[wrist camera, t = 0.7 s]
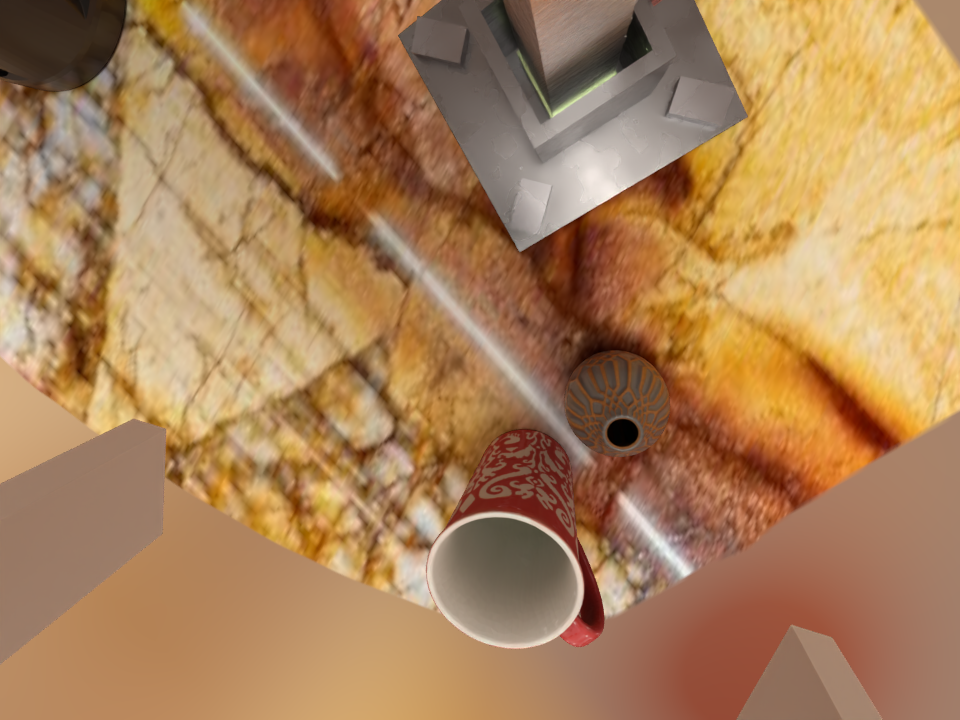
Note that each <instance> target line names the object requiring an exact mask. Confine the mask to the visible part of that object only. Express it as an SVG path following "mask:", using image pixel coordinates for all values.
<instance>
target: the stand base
mask: <svg viewBox="0 0 960 720" xmlns="http://www.w3.org/2000/svg"><path fill="white" fill-rule="evenodd" d="M398 36H399V38H400V40H401V42H402V43H403V45H404V47H405V49H406V51H407V52H408V54H409V56H410V58H411V60H412V61H413V63H414V65H415V67H416V68H417V70H418V72H419V74H420V76H421V77H422V79H423V81H424V83H425V84H426V86H427V88H428V90H429V92H430V93H431V95H432V97H433V99H434V100H435V102H436V104H437V106H438V108H439V109H440V111H441V113H442V115H443V117H444V118H445V120H446V122H447V124H448V125H449V127H450V129H451V131H452V133H453V134H454V136H455V138H456V140H457V141H458V143H459V145H460V147H461V149H462V150H463V152H464V154H465V156H466V158H467V159H468V161H469V163H470V165H471V166H472V168H473V170H474V172H475V174H476V175H477V177H478V179H479V181H480V182H481V184H482V186H483V188H484V190H485V191H486V193H487V195H488V197H489V198H490V200H491V202H492V204H493V206H494V207H495V209H496V211H497V213H498V215H499V216H500V218H501V220H502V222H503V223H504V225H505V227H506V229H507V231H508V232H509V234H510V236H511V238H512V239H513V241H514V243H515V245H516V247H517V248H518V250H519V252H521V251H522V250H524V249H526V248H527V247H529V246H531V245H532V244H534V243H536V242H538V241H539V240H541V239H543V238H544V237H546V236H548V235H549V234H551V233H553V232H554V231H556V230H558V229H559V228H561V227H563V226H565V225H566V224H568V223H570V222H571V221H573V220H575V219H576V218H578V217H580V216H581V215H583V214H585V213H586V212H588V211H590V210H591V209H593V208H595V207H597V206H598V205H600V204H602V203H603V202H605V201H607V200H608V199H610V198H612V197H613V196H615V195H617V194H618V193H620V192H622V191H623V190H625V189H627V188H629V187H630V186H632V185H634V184H635V183H637V182H639V181H640V180H642V179H644V178H645V177H647V176H649V175H650V174H652V173H654V172H656V171H657V170H659V169H661V168H662V167H664V166H666V165H667V164H669V163H671V162H672V161H674V160H676V159H677V158H679V157H681V156H682V155H684V154H686V153H688V152H689V151H691V150H693V149H694V148H696V147H698V146H699V145H701V144H703V143H704V142H706V141H708V140H709V139H711V138H713V137H714V136H716V135H718V134H720V133H721V132H723V131H725V130H726V129H728V128H730V127H731V126H733V125H735V124H736V123H738V122H740V121H741V120H743V119H745V118H747V117H748V116H747V114H746V112H745V109H744V107H743V105H742V103H741V101H740V99H739V96H738V94H737V92H736V90H735V89H736V88H734V85H733V83H732V81H731V79H730V77H729V75H728V72H727V70H726V68H725V66H724V64H723V62H722V59H721V57H720V55H719V53H718V51H717V49H716V46H715V44H714V42H713V40H712V38H711V35H710V33H709V31H708V29H707V27H706V25H705V22H704V20H703V18H702V16H701V14H700V12H699V9H698V7H697V5H696V3H695V1H694V0H638V2H637V3H636V4H635V7H634V10H633V13H632V22H631V24H630V25H629V27H628V30H627V33H626V36H627V38H626V41H625V42H624V43H623V47H622V50H621V53H620V57H619V60H618V63H617V67H616V72H617V74H616V75H615V76H613V77H612V78H610V79H609V80H607V81H606V82H604V83H603V84H601V85H600V86H598V87H597V88H595V89H594V90H592V91H591V92H589V93H588V94H586V95H585V96H583V97H582V98H580V99H579V100H577V101H576V102H574V103H573V104H571V105H570V106H568V107H567V108H565V109H564V110H562V111H561V112H559V113H558V114H556V115H555V116H553V117H552V118H551V119H550V118H549V116H548V115H547V113H546V111H545V109H544V107H543V105H542V103H541V101H540V99H539V97H538V96H537V94H536V92H535V90H534V88H533V86H532V84H531V82H530V80H529V78H528V77H527V75H526V73H525V71H524V69H523V67H522V65H521V63H520V61H519V58H518V55H517V51H518V50H519V49H518V46H517V43H516V39H515V36H514V33H513V30H512V27H511V24H510V21H509V18H508V15H507V12H506V9H505V5H504V2H503V0H441V1H440V2H439V3H438V4H437V5H435V6H434V7H433V8H432V9H430V10H429V11H428V12H427V13H425V14H424V15H423V16H422V17H420V16H417V21H415V22H414V23H413V24H412V25H410V26H409V27H408V28H407V29H405V30H404V31H403V32H402V33H400V34H399V35H398Z"/></svg>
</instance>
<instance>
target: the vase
mask: <svg viewBox="0 0 960 720" xmlns="http://www.w3.org/2000/svg"><path fill="white" fill-rule="evenodd" d="M564 407H565V413H566V417H567V420H568V423H569V425H570V427H571V429H572V430H573V432H574V433H575V435H576V436H577V437H578V438H579V439H580V440H581V441H582V442H583V443H584V444H585V445H586V446H588V447H589V448H591V449H592V450H594V451H596V452H598V453H601V454H604V455H608V456H613V457H625V456H631V455H635V454H637V453H640V452H642V451H644V450H646V449H647V448H649V447H650V446H651V445H652V444H654V443H655V442H656V441H657V440H658V438H659V437H660V436H661V434H662V433H663V431H664V429H665V427H666V424H667V421H668V418H669V413H670V398H669V393H668V389H667V387H666V384H665V382H664V380H663V378H662V377H661V375H660V374H659V372H658V371H657V370H656V369H655V368H654V367H653V365H651V364H650V363H649V362H648V361H647V360H645V359H644V358H642V357H640V356H638V355H636V354H633V353H630V352H626V351H620V350H610V351H604V352H600V353H597V354H595V355H592V356H590V357H589V358H587V359H586V360H584V361H583V362H582V363H581V364H580V365H579V366H578V367H577V368H576V369H575V370H574V372H573V373H572V375H571V376H570V378H569V381H568V383H567V386H566V390H565V397H564Z"/></svg>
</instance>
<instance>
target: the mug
mask: <svg viewBox="0 0 960 720" xmlns="http://www.w3.org/2000/svg"><path fill="white" fill-rule="evenodd" d="M426 577H427V584H428V588H429V591H430V594H431V596H432V598H433V600H434V602H435V604H436V606H437V607H438V609H439V610H440V612H441V613H442V614H443V615H444V617H445V618H446V619H447V620H448V621H449V622H450V623H451V624H453V625H454V626H455V627H456V628H457V629H459V630H460V631H461V632H463V633H465V634H466V635H468V636H470V637H472V638H474V639H475V640H478V641H480V642H482V643H485V644H488V645H491V646H495V647H501V648H509V649H520V648H529V647H534V646H538V645H542V644H544V643H547V642H549V641H551V640H553V639H554V638H556V637H558V636H560V637H561V638H563V639H564V640H565V641H566V642H567V643H569V644H571V645H573V646H576V647H582V646H585V645H588V644H589V643H591V642H592V641H594V640H595V639H596V638H598V637H599V636H600V634H601V633H602V631H603V628H604V609H603V604H602V599H601V595H600V592H599V588H598V585H597V582H596V579H595V577H594V574H593V572H592V569H591V567H590V564H589V562H588V559H587V557H586V555H585V553H584V550H583V548H582V546H581V544H580V542H579V540H578V538H577V529H576V522H575V508H574V495H573V481H572V470H571V465H570V461H569V458H568V456H567V454H566V452H565V451H564V449H563V448H562V447H561V445H559V444H558V443H557V442H556V441H555V440H554V439H552V438H551V437H549V436H548V435H546V434H543V433H541V432H538V431H534V430H528V429H527V430H523V429H521V430H514V431H510V432H507V433H505V434H503V435H501V436H499V437H498V438H496V439H495V440H494V441H493V442H492V443H491V444H490V445H489V447H488V448H487V450H486V451H485V453H484V455H483V457H482V459H481V461H480V463H479V465H478V467H477V469H476V470H475V472H474V474H473V476H472V478H471V480H470V481H469V484H468V486H467V488H466V490H465V492H464V494H463V495H462V497H461V499H460V501H459V503H458V505H457V507H456V509H455V510H454V512H453V514H452V516H451V518H450V520H449V522H448V524H447V526H446V528H445V529H444V530H443V531H442V532H441V533H440V534H439V536H438V537H437V538H436V540H435V542H434V543H433V545H432V547H431V550H430V552H429V555H428V559H427V565H426ZM579 611H580V613H581V617H580V616H579V615H578V613H579Z"/></svg>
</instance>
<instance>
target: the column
mask: <svg viewBox="0 0 960 720" xmlns="http://www.w3.org/2000/svg"><path fill="white" fill-rule="evenodd" d="M503 2H504V5H505V9H506V12H507V15H508V18H509V21H510V24H511V27H512V30H513V33H514V36H515V39H516V43H517V46H518V49H519V50H518V51H517V55H518V58H519V61H520V63H521V65H522V67H523V69H524V71H525V73H526V75H527V77H528V78H529V80H530V82H531V84H532V86H533V88H534V90H535V92H536V94H537V96H538V97H539V99H540V101H541V103H542V105H543V107H544V109H545V111H546V113H547V115H548V116H549V118H550V119H551V118H552V117H553V116H555V115H556V114H558V113H559V112H561V111H562V110H564V109H565V108H567V107H568V106H570V105H571V104H573V103H574V102H576V101H577V100H579V99H580V98H582V97H583V96H585V95H586V94H588V93H589V92H591V91H592V90H594V89H595V88H597V87H598V86H600V85H601V84H603V83H604V82H606V81H607V80H609V79H610V78H612V77H613V76H615V75H616V74H617V72H616V67H617V63H618V60H619V57H620V53H621V50H622V47H623V43H624V42H625V41H626V38H627V36H626V33H627V30H628V27H629V25H630V24H631V22H632V13H633V10H634V7H635V4H636V3H637V2H638V0H503Z"/></svg>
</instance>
